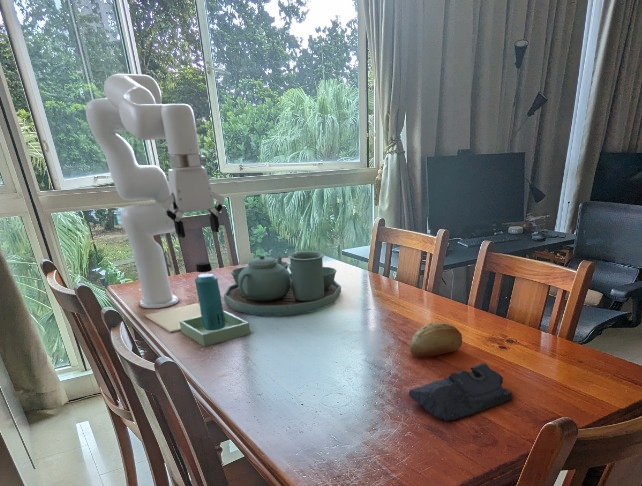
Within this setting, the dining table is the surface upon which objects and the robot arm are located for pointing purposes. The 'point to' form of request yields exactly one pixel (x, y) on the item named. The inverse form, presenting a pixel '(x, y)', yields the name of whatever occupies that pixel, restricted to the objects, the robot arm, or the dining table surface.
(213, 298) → the beverage bottle
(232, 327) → the tray
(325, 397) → the dining table surface
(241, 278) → the tea set
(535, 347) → the dining table surface
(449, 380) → the folded black shirt
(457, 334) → the bread roll
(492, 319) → the dining table surface
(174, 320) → the mat
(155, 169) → the robot arm
